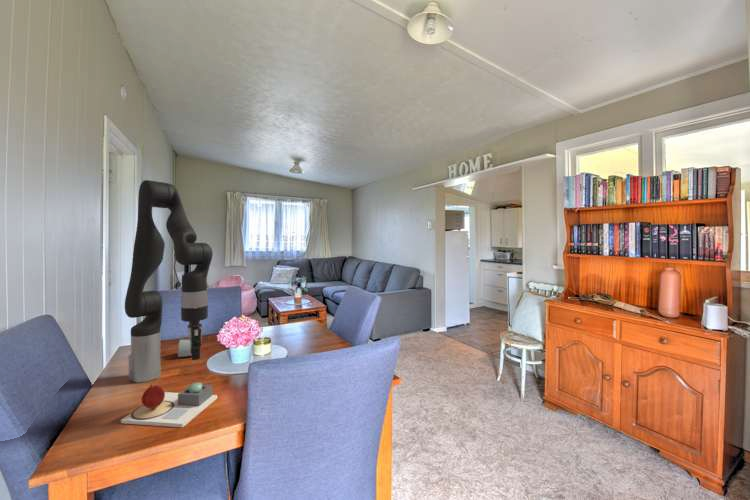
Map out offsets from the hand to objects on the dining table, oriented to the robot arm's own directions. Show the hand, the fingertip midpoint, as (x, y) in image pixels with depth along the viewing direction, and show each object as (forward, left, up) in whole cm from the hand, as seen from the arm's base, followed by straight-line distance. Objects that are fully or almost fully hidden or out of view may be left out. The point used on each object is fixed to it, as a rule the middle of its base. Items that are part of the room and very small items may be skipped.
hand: (195, 356), depth 104 cm
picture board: (-5, -4, -16) cm, 17 cm away
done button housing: (0, 0, -16) cm, 16 cm away
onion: (-9, -7, -15) cm, 18 cm away
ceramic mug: (-31, +41, -16) cm, 54 cm away
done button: (0, 0, -12) cm, 12 cm away
